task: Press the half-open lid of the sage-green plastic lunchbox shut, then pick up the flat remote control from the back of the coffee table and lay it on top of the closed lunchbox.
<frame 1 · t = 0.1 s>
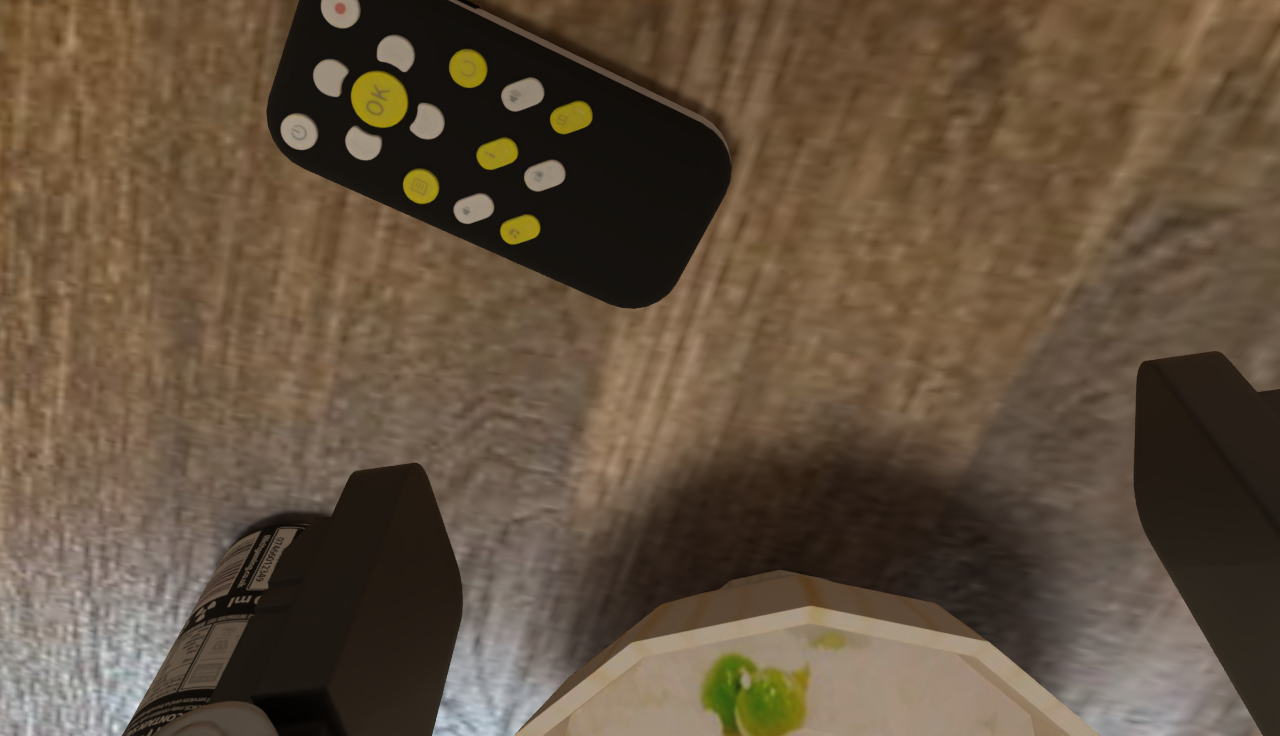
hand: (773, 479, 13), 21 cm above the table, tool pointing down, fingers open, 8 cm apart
bowl: (777, 640, 42), on the table
beverage can: (315, 578, 42), on the table
remote control: (507, 130, 33), on the table
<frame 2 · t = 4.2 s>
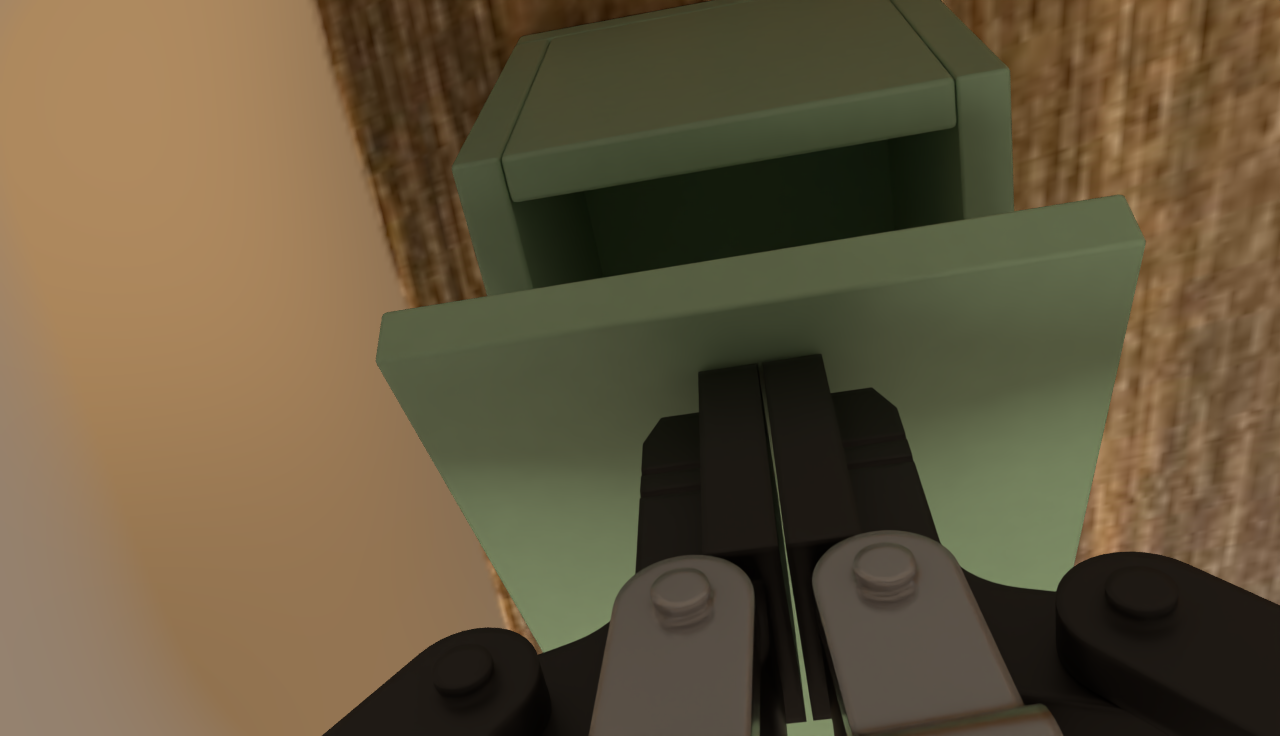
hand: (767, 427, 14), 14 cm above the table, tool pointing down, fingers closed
lunchbox lid: (789, 566, 18), point 12 cm above the table, hinge at 21.0°
lunchbox: (748, 259, 28), on the table
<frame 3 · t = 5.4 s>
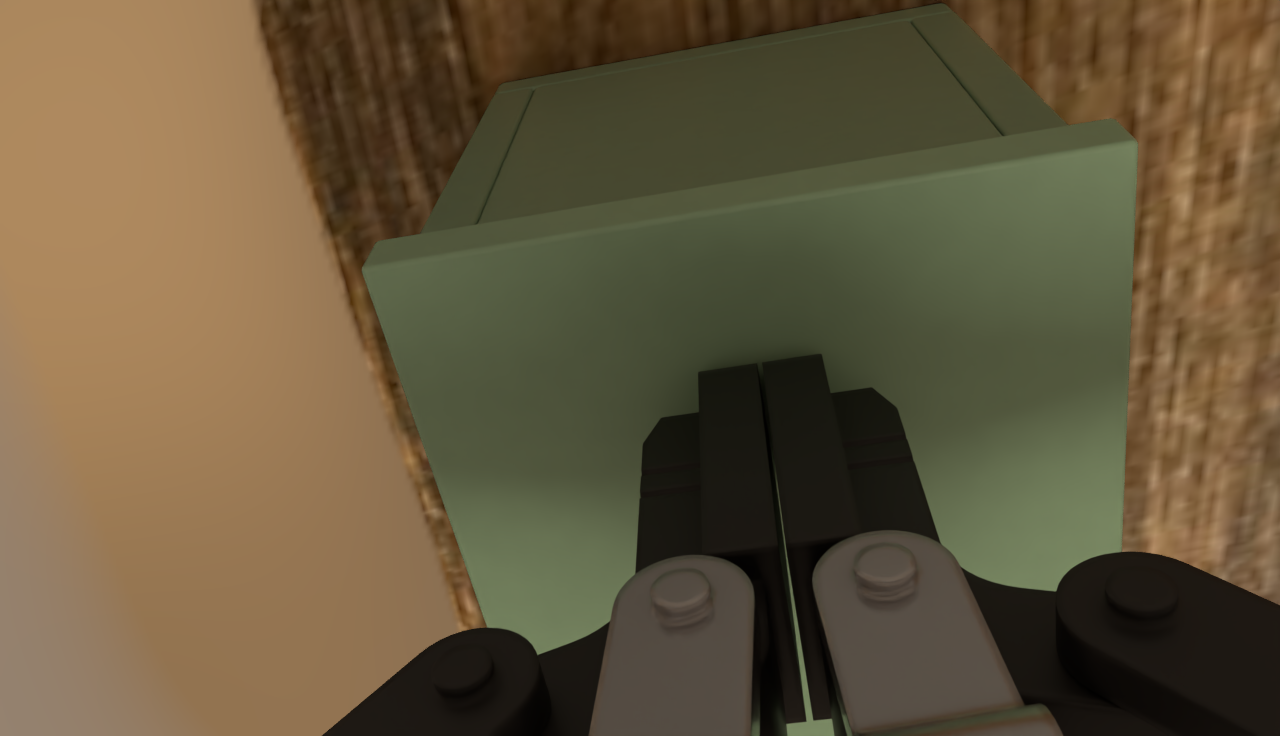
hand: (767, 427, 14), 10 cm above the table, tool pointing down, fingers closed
lunchbox lid: (799, 621, 16), point 9 cm above the table, hinge at 1.9°
lunchbox: (761, 332, 24), on the table
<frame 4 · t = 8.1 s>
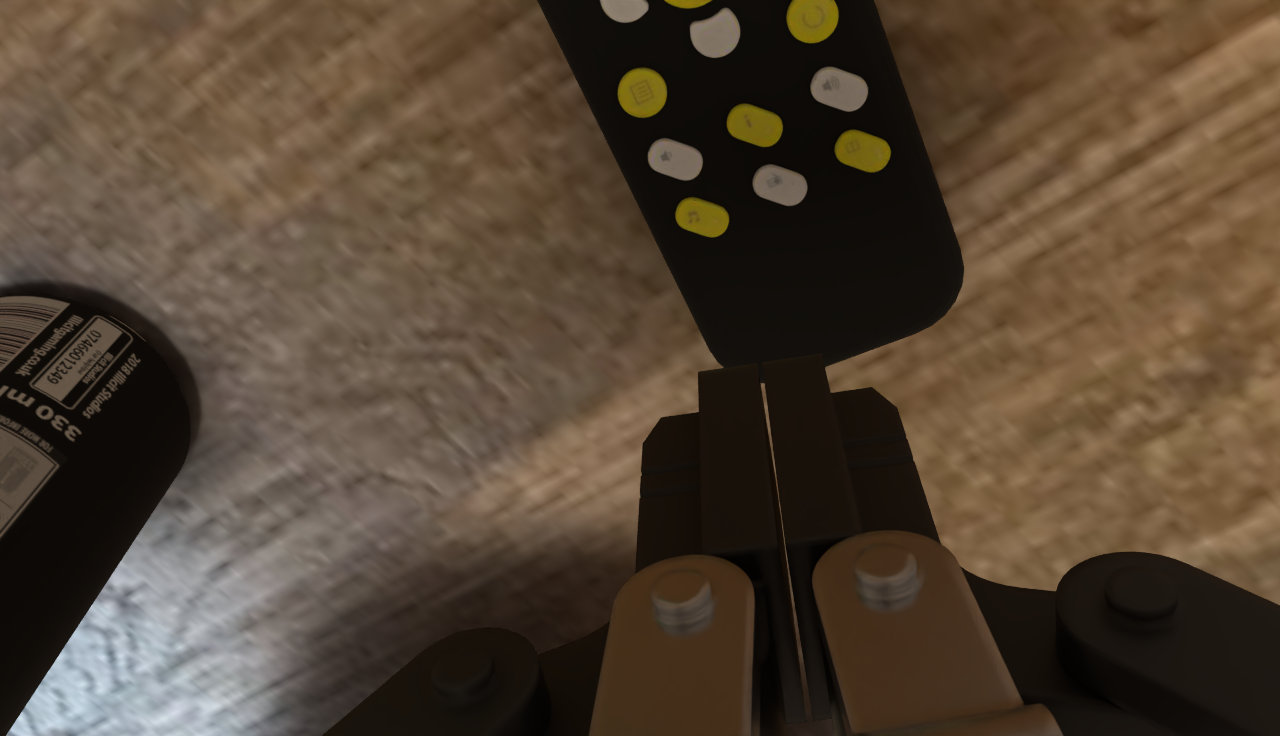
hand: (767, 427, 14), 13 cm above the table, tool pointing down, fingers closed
beverage can: (79, 387, 30), on the table
remote control: (749, 95, 25), on the table
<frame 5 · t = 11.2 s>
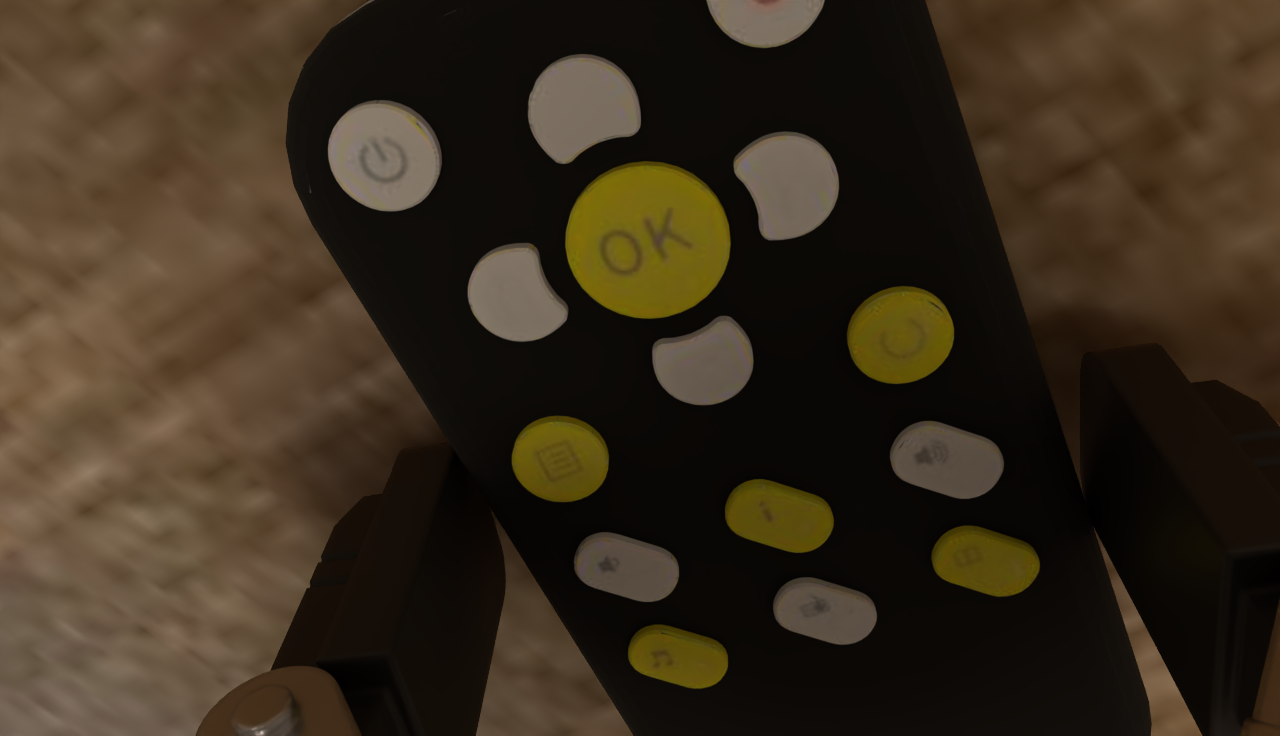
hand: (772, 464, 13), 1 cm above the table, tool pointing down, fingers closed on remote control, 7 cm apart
remote control: (767, 413, 14), on the table, touching gripper
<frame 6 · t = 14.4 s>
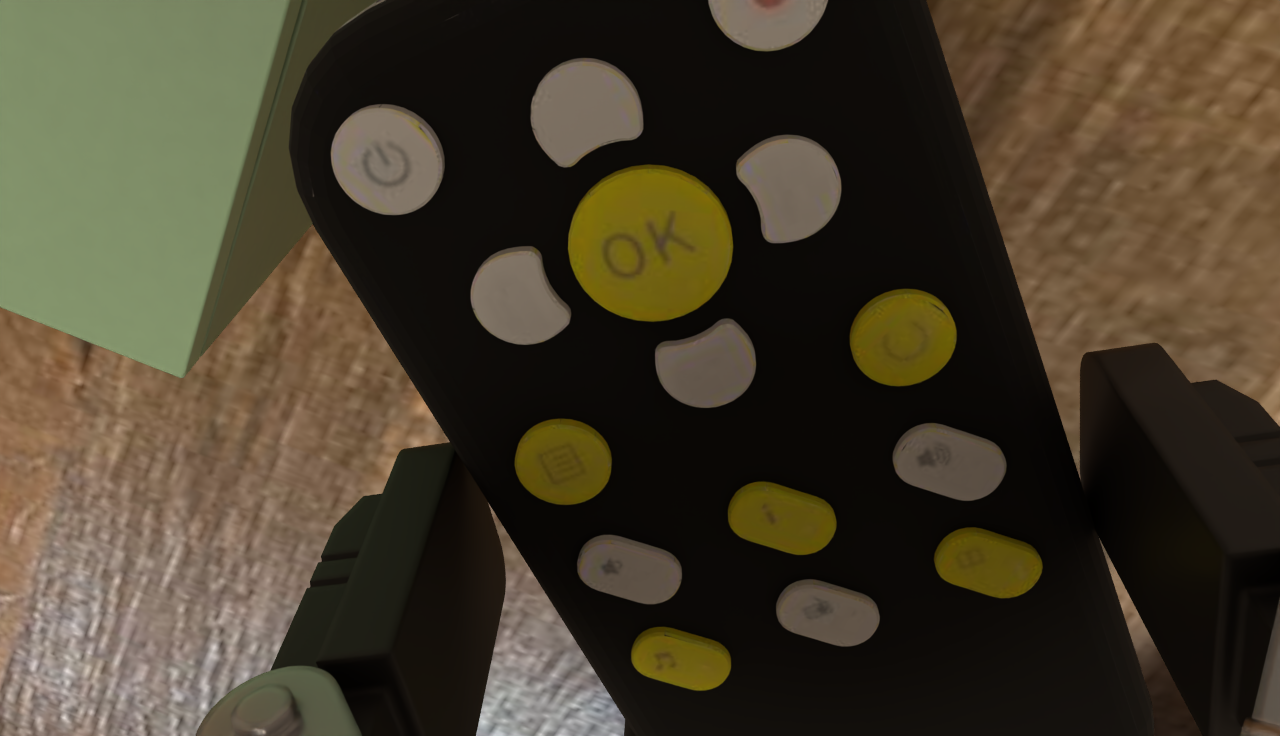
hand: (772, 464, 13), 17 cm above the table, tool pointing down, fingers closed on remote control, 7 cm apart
remote control: (769, 415, 14), point 16 cm above the table, touching gripper
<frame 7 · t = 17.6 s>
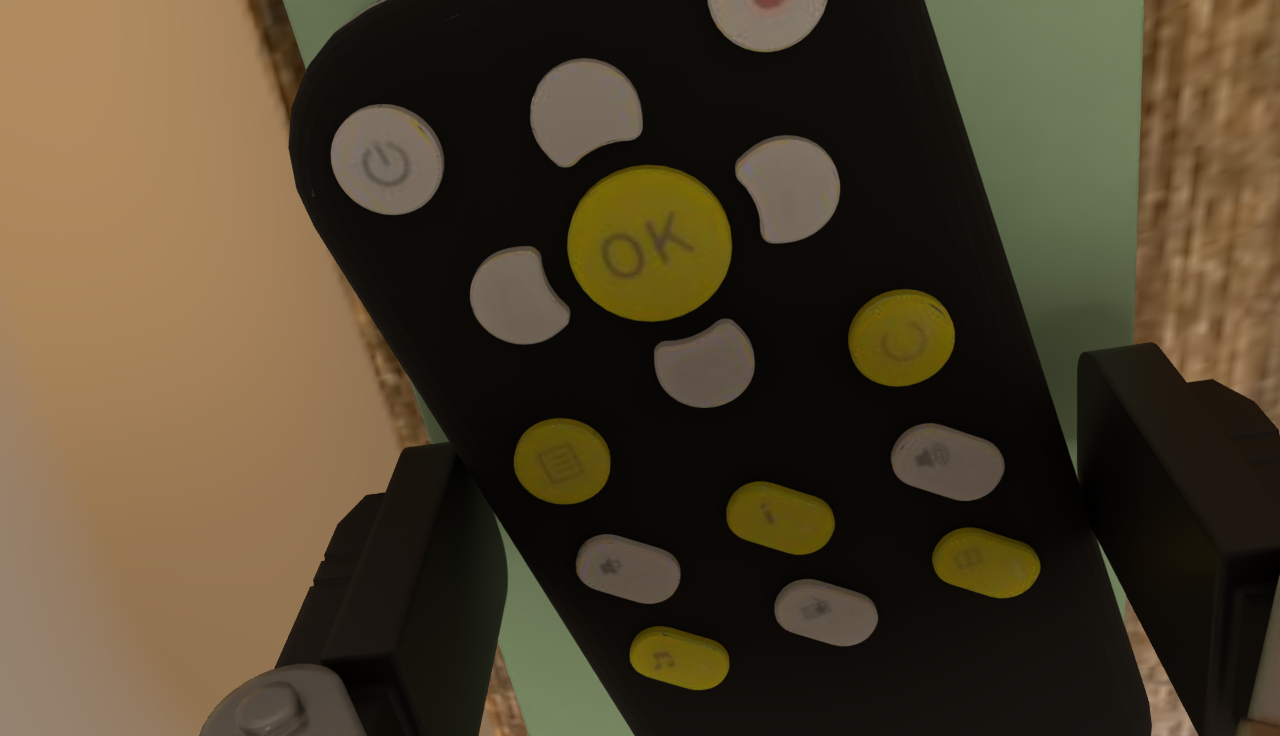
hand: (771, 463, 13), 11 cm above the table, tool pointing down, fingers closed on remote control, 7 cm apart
lunchbox lid: (768, 387, 14), point 9 cm above the table, hinge at 0.5°, touching remote control
remote control: (768, 415, 14), point 10 cm above the table, touching gripper, lunchbox lid
when the fingers open (11 cm above the table, at t = 17.8 s): remote control stays where it is, resting on lunchbox lid.
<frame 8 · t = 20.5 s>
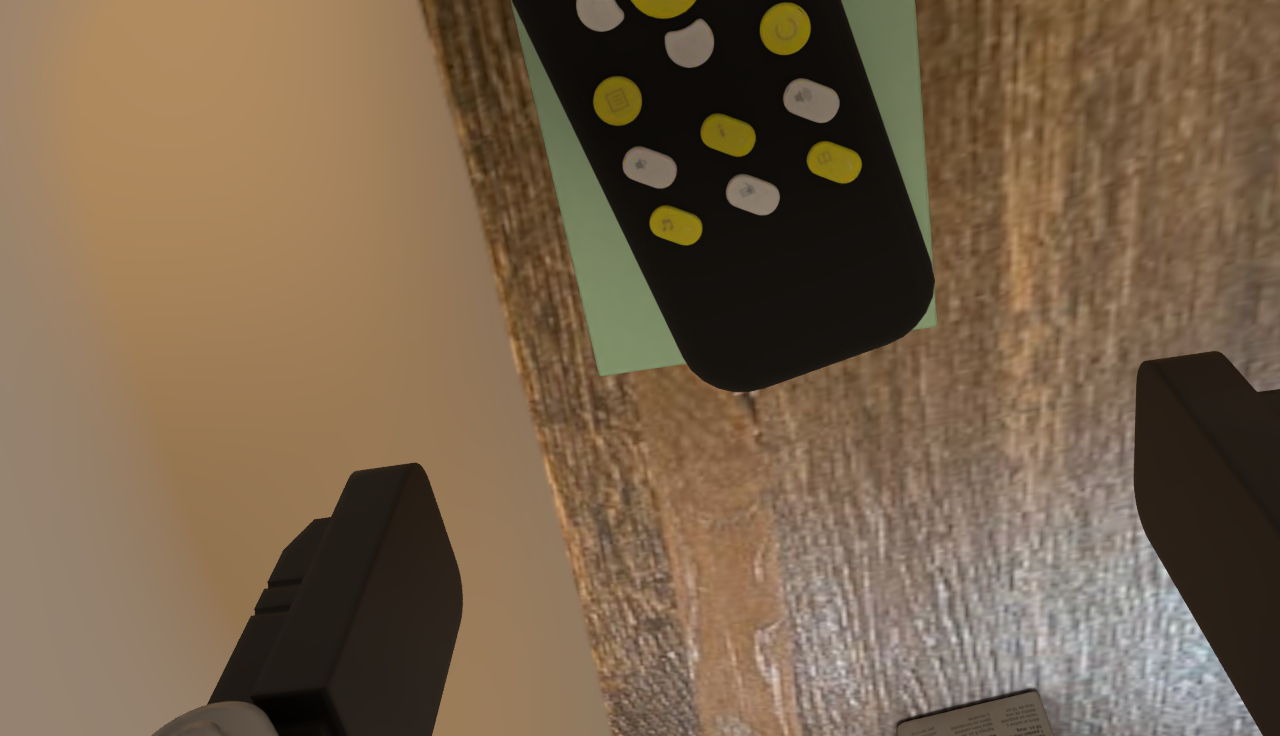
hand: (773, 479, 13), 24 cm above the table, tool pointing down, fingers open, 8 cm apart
lunchbox lid: (725, 93, 25), point 9 cm above the table, hinge at -0.2°, touching lunchbox, remote control
remote control: (725, 106, 25), point 9 cm above the table, touching lunchbox lid
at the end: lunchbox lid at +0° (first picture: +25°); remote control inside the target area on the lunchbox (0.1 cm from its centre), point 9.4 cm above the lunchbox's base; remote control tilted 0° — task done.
